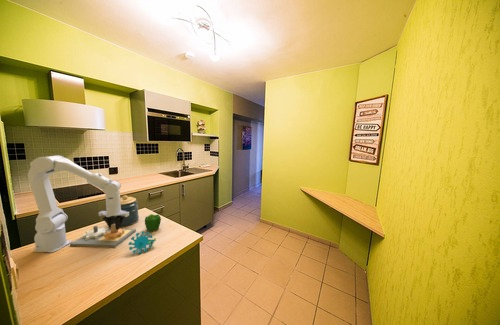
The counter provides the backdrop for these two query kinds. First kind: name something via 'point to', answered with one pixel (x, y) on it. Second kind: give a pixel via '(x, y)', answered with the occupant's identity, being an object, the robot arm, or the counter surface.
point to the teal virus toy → (141, 242)
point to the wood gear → (113, 232)
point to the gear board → (101, 238)
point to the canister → (129, 210)
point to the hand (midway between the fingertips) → (115, 228)
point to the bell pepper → (152, 222)
